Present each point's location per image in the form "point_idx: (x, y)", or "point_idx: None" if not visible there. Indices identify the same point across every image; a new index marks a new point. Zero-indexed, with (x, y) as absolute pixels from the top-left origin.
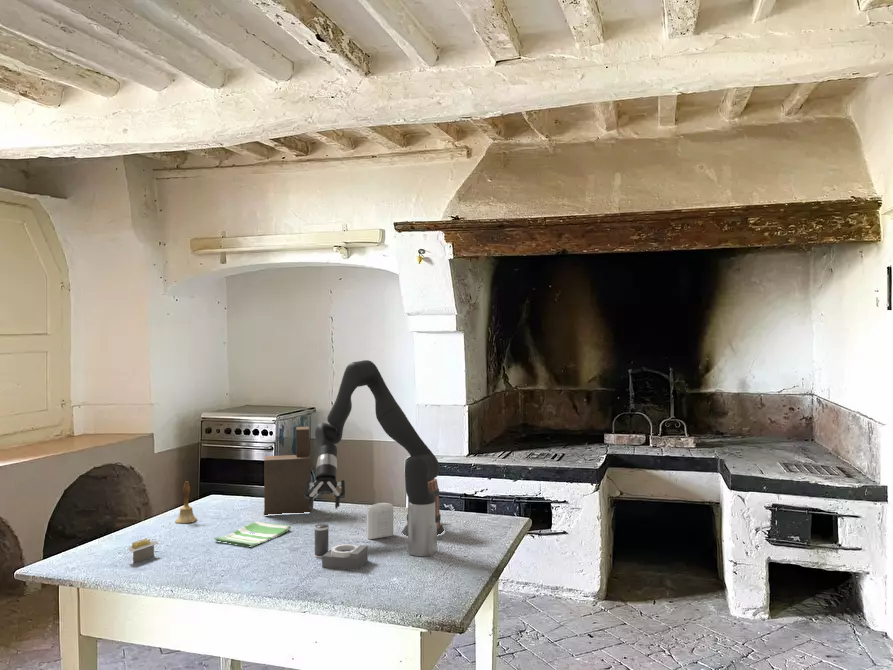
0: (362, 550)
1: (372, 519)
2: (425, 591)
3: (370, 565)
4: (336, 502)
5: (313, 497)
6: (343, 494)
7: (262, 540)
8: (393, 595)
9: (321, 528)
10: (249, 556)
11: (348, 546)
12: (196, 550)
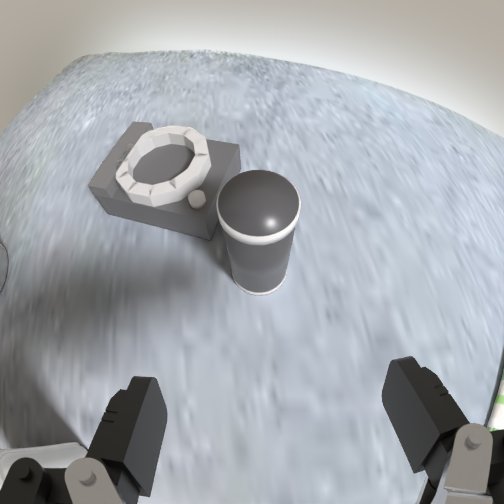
0: (112, 151)
1: (24, 448)
2: (68, 96)
3: None
4: (132, 398)
5: (431, 491)
6: (31, 460)
7: (500, 410)
8: (114, 78)
9: (253, 170)
10: (482, 270)
11: (146, 185)
12: None
